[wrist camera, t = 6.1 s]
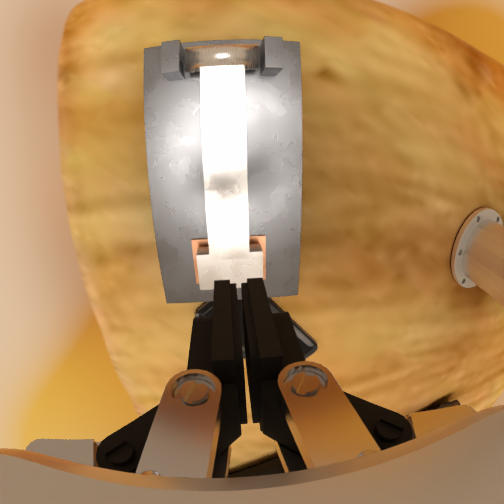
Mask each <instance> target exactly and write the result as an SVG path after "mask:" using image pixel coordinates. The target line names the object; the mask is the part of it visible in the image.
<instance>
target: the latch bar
mask: <svg viewBox="0 0 504 504" xmlns="http://www.w3.org/2000/svg"><path fill="white" fill-rule="evenodd" d="M259 59H260V53H259V45H258V44H229V45H208V46H195V47H186V48H185V69H186V73H190V72H200V98H201V130H202V153H203V172H204V189H205V204H206V218H207V232H208V244H209V247H198V248H197V254H196V259H197V268H198V276H199V285H200V290H212V289H214V280H230V284H231V283H236V287H237V288H241V283H247V278H263V250H262V248H261V245H260V244H249V217H248V182H247V145H246V108H245V70H258V68H259Z"/></svg>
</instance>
